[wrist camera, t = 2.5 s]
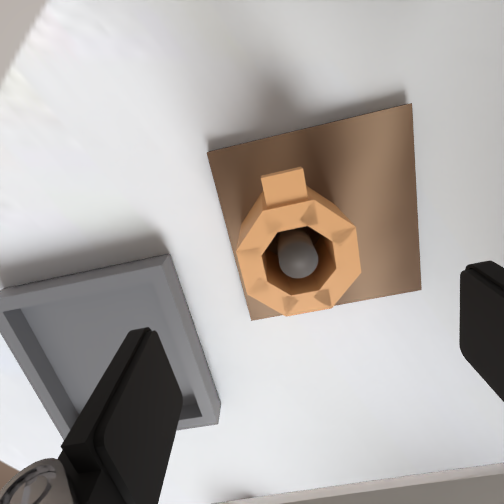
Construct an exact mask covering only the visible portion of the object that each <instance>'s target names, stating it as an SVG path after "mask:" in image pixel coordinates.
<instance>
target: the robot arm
mask: <svg viewBox="0 0 504 504" xmlns="http://www.w3.org/2000/svg"><path fill="white" fill-rule="evenodd" d="M460 349H461V352H462V354H463V356H464V357H465V359H466V360H467V361H468V362H469V363H470V364H471V365H472V367H473V368H474V369H475V370H476V371H477V372H478V373H479V374H480V376H481V377H482V378H483V379H484V380H485V381H486V382H487V384H488V385H489V386H490V387H491V388H492V389H493V390H494V391H495V393H496V394H497V395H498V396H499V397H500V398H501V399H502V400H503V402H504V268H503V267H501V266H500V265H498V264H496V263H495V262H493V261H485V262H480V263H475V264H469V265H468V266H467V267H466V269H465V271H462V272H461V274H460ZM182 406H183V396H182V392H181V390H180V387H179V385H178V382H177V380H176V377H175V375H174V373H173V370H172V368H171V365H170V363H169V360H168V358H167V355H166V353H165V350H164V348H163V345H162V343H161V340H160V338H159V335H158V333H157V332H156V331H155V330H154V331H152V330H151V329H150V328H149V327H145V328H140V329H135V330H131V331H129V332H128V334H127V336H126V337H125V339H124V341H123V342H122V344H121V346H120V347H119V349H118V351H117V352H116V354H115V356H114V357H113V359H112V361H111V363H110V364H109V366H108V368H107V369H106V371H105V373H104V374H103V376H102V378H101V379H100V381H99V383H98V384H97V386H96V388H95V389H94V391H93V393H92V394H91V396H90V398H89V400H88V401H87V403H86V405H85V406H84V408H83V410H82V411H81V413H80V415H79V416H78V418H77V420H76V421H75V423H74V425H73V426H72V428H71V430H70V431H69V433H68V435H67V437H66V438H65V440H64V442H63V443H62V445H61V448H62V449H63V450H62V452H61V454H60V456H59V457H58V459H55V458H48V459H43V460H40V461H37V462H35V463H33V464H31V465H29V466H28V467H26V468H24V469H23V470H22V471H20V472H19V473H18V474H16V475H15V476H14V477H13V478H12V479H11V480H10V481H9V482H8V483H7V484H6V485H5V486H4V487H3V488H2V490H1V491H0V504H158V501H159V497H160V493H161V489H162V485H163V481H164V477H165V473H166V469H167V465H168V461H169V457H170V453H171V449H172V446H173V442H174V438H175V434H176V430H177V426H178V422H179V418H180V414H181V410H182ZM213 504H504V463H498V464H491V465H483V466H476V467H468V468H461V469H453V470H446V471H439V472H431V473H424V474H417V475H409V476H402V477H395V478H388V479H381V480H373V481H366V482H359V483H352V484H345V485H338V486H331V487H324V488H317V489H310V490H302V491H295V492H288V493H281V494H275V495H268V496H261V497H254V498H247V499H240V500H234V501H227V502H220V503H213Z"/></svg>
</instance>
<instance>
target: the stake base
mask: <svg viewBox="0 0 504 504" xmlns="http://www.w3.org/2000/svg"><path fill="white" fill-rule="evenodd" d="M207 156H208V159H209V163H210V167H211V171H212V175H213V178H214V182H215V186H216V190H217V193H218V197H219V201H220V205H221V208H222V212H223V216H224V220H225V223H226V227H227V231H228V235H229V238H230V242H231V246H232V250H233V253H234V257H235V261H236V265H237V268H238V272H239V276H240V280H241V283H242V287H243V291H244V295H245V298H246V302H247V306H248V310H249V313H250V317H251V321H253V320H258V319H264V318H269V317H275V316H280V315H282V314H281V313H279V312H277V311H275V310H274V309H272V308H270V307H268V306H267V305H265V304H263V303H261V302H260V301H258V300H256V299H254V298H253V297H251V296H249V295H247V292H246V288H245V285H244V281H243V277H242V273H241V269H240V266H239V262H238V258H237V254H236V248H237V243H238V238H239V233H240V228H241V224H242V222H243V221H244V219H245V218H246V216H247V215H248V213H249V211H250V210H251V208H252V207H253V205H254V204H255V202H256V201H257V199H258V197H259V196H260V194H261V193H262V191H263V186H262V181H261V176H262V175H267V174H271V173H275V172H280V171H284V170H288V169H293V168H297V167H302V168H303V171H304V177H305V183H306V186H308V187H309V188H311V189H312V190H314V191H315V192H317V193H318V194H320V195H321V196H323V197H324V198H326V199H327V200H329V201H330V202H332V203H333V204H335V205H336V206H337V207H338V208H339V209H340V211H341V212H342V213H343V214H344V215H345V216H346V217H347V218H348V219H349V220H350V221H351V222H352V223H353V224H354V225H355V226H356V232H357V241H358V249H359V257H360V265H361V274H360V275H359V276H358V277H357V278H356V280H355V281H354V282H353V283H352V284H351V286H350V287H349V288H348V289H347V290H346V292H345V293H344V294H343V295H342V297H341V298H340V299H339V300H338V301H337V303H336V304H335V305H341V304H346V303H352V302H357V301H363V300H368V299H374V298H379V297H385V296H390V295H396V294H401V293H407V292H412V291H418V290H421V272H420V252H419V232H418V213H417V193H416V173H415V154H414V134H413V114H412V103H411V104H405V105H401V106H397V107H393V108H389V109H384V110H380V111H376V112H372V113H368V114H364V115H359V116H355V117H351V118H347V119H343V120H339V121H334V122H330V123H326V124H322V125H318V126H314V127H310V128H305V129H301V130H297V131H293V132H289V133H285V134H280V135H276V136H272V137H268V138H264V139H260V140H255V141H251V142H247V143H243V144H239V145H235V146H230V147H226V148H222V149H218V150H214V151H210V152H207ZM319 238H320V234H319V233H318V232H317V231H315V230H314V229H312V228H310V227H309V226H305V227H300V228H295V229H290V230H285V231H281V232H277V234H276V235H275V237H274V238H273V240H272V241H271V242H270V244H269V245H268V247H267V248H266V249H268V250H270V251H271V252H273V253H275V254H276V255H278V257H279V265H280V268H281V270H282V271H283V272H284V273H285V274H286V275H288V276H289V277H292V278H304V277H307V276H308V275H310V274H311V273H313V271H314V270H315V269H316V267H317V264H318V255H317V252H316V250H315V248H314V245H315V243H316V242H317V241H318V239H319ZM335 305H334V306H335Z"/></svg>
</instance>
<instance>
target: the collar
mask: <svg viewBox="0 0 504 504" xmlns="http://www.w3.org/2000/svg"><path fill="white" fill-rule="evenodd" d="M261 181H262V186H263V191H262V193H261V194H260V196H259V197H258V199H257V201H256V202H255V204H254V205H253V207H252V208H251V210H250V211H249V213H248V215H247V216H246V218H245V219H244V221H243V222H242V224H241V228H240V233H239V238H238V243H237V248H236V254H237V258H238V262H239V266H240V269H241V273H242V277H243V281H244V285H245V288H246V292H247V295H249V296H251V297H253V298H254V299H256V300H258V301H260V302H261V303H263V304H265V305H267V306H268V307H270V308H272V309H274V310H275V311H277V312H279V313H281V314H282V315H284V316H291V315H297V314H302V313H308V312H314V311H319V310H325V309H330V308H332V307H333V306H334V305H335V304H336V303H337V301H338V300H339V299H340V298H341V297H342V295H343V294H344V293H345V292H346V290H347V289H348V288H349V287H350V286H351V284H352V283H353V282H354V281H355V280H356V278H357V277H358V276H359V275H360V274H361V265H360V257H359V249H358V241H357V232H356V226H355V225H354V224H353V223H352V222H351V221H350V220H349V219H348V218H347V217H346V216H345V215H344V214H343V213H342V212H341V211H340V209H339V208H338V207H337V206H336V205H335V204H333V203H332V202H330V201H329V200H327V199H326V198H324V197H323V196H321V195H320V194H318V193H317V192H315V191H314V190H312V189H311V188H309V187H308V186H306V183H305V177H304V171H303V168H302V167H297V168H293V169H288V170H284V171H280V172H275V173H271V174H267V175H262V176H261ZM305 226H309V227H310V228H312V229H314V230H315V231H317V232H318V233H319V234H320V238H319V239H318V241H317V242H316V243H315V245H314V248H315V250H316V252H317V255H318V264H317V267H316V269H315V270H314V271H313V273H311V274H310V275H308V276H307V277H304V278H292V277H289V276H288V275H286V274H285V273H284V272H283V271H282V270H281V268H280V265H279V257H278V255H276V254H275V253H273V252H271V251H270V250H268V249H266V248H267V247H268V245H269V244H270V242H271V241H272V240H273V238H274V237H275V235H276V234H277V232H281V231H285V230H290V229H295V228H300V227H305Z"/></svg>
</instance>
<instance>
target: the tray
mask: <svg viewBox="0 0 504 504" xmlns="http://www.w3.org/2000/svg"><path fill="white" fill-rule="evenodd" d="M145 327H149V328H150V329H151V330H152V331H154V330H155V331H156V332H157V333H158V335H159V338H160V340H161V343H162V345H163V348H164V350H165V353H166V355H167V358H168V360H169V363H170V365H171V368H172V370H173V373H174V375H175V377H176V380H177V382H178V385H179V387H180V390H181V392H182V396H183V406H182V410H181V414H180V418H179V422H178V426H177V430H182V429H189V428H196V427H202V426H209V425H216V424H218V422H219V415H220V408H221V402H220V399H219V396H218V394H217V391H216V388H215V385H214V382H213V379H212V376H211V373H210V370H209V367H208V364H207V361H206V358H205V355H204V352H203V349H202V346H201V344H200V341H199V338H198V335H197V332H196V329H195V326H194V323H193V320H192V317H191V314H190V311H189V308H188V305H187V302H186V299H185V297H184V294H183V291H182V288H181V285H180V282H179V279H178V276H177V273H176V270H175V267H174V264H173V261H172V258H171V255H170V254H167V255H162V256H157V257H152V258H148V259H143V260H138V261H133V262H128V263H124V264H119V265H114V266H109V267H104V268H100V269H95V270H90V271H85V272H81V273H76V274H71V275H66V276H61V277H57V278H52V279H47V280H42V281H38V282H33V283H28V284H23V285H18V286H14V287H9V288H4V289H2V290H1V291H0V333H1V335H2V336H3V338H4V340H5V341H6V343H7V345H8V347H9V348H10V350H11V352H12V353H13V355H14V357H15V358H16V360H17V362H18V363H19V365H20V367H21V369H22V370H23V372H24V374H25V375H26V377H27V379H28V380H29V382H30V384H31V385H32V387H33V389H34V391H35V392H36V394H37V396H38V397H39V399H40V401H41V402H42V404H43V406H44V407H45V409H46V411H47V413H48V414H49V416H50V418H51V419H52V421H53V423H54V424H55V426H56V428H57V429H58V431H59V433H60V435H61V436H62V438H63V440H65V438H66V437H67V435H68V433H69V431H70V430H71V428H72V426H73V425H74V423H75V421H76V420H77V418H78V416H79V415H80V413H81V411H82V410H83V408H84V406H85V405H86V403H87V401H88V400H89V398H90V396H91V394H92V393H93V391H94V389H95V388H96V386H97V384H98V383H99V381H100V379H101V378H102V376H103V374H104V373H105V371H106V369H107V368H108V366H109V364H110V363H111V361H112V359H113V357H114V356H115V354H116V352H117V351H118V349H119V347H120V346H121V344H122V342H123V341H124V339H125V337H126V336H127V334H128V332H129V331H131V330H135V329H140V328H145Z"/></svg>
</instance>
